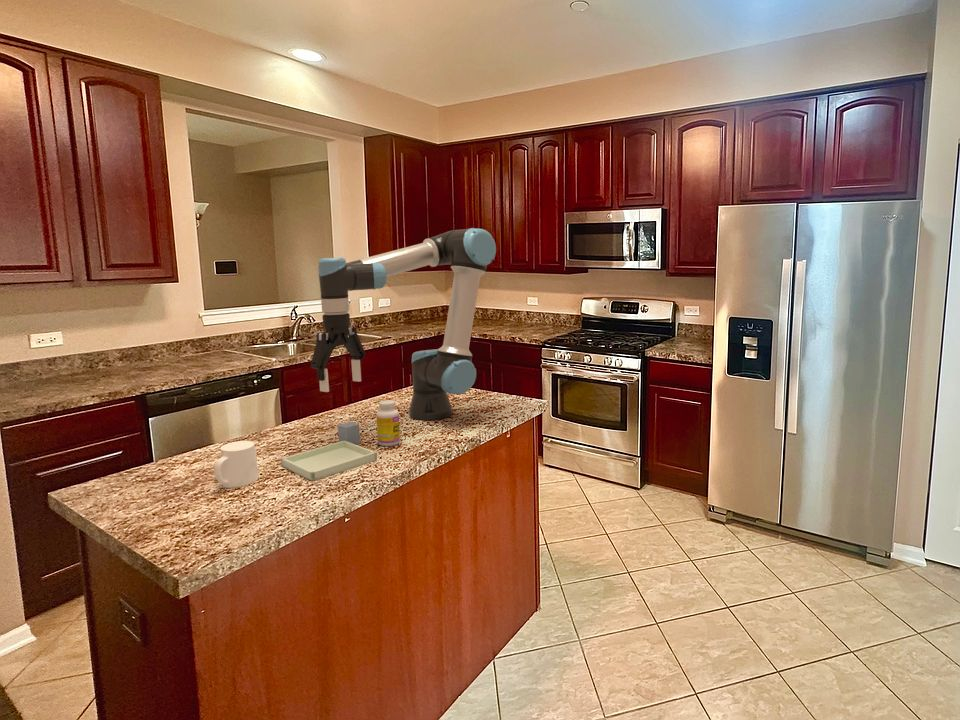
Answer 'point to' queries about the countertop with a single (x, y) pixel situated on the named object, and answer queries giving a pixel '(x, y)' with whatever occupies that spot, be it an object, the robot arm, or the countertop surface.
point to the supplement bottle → (388, 424)
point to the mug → (237, 464)
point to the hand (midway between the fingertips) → (341, 386)
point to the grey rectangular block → (349, 432)
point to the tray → (328, 460)
